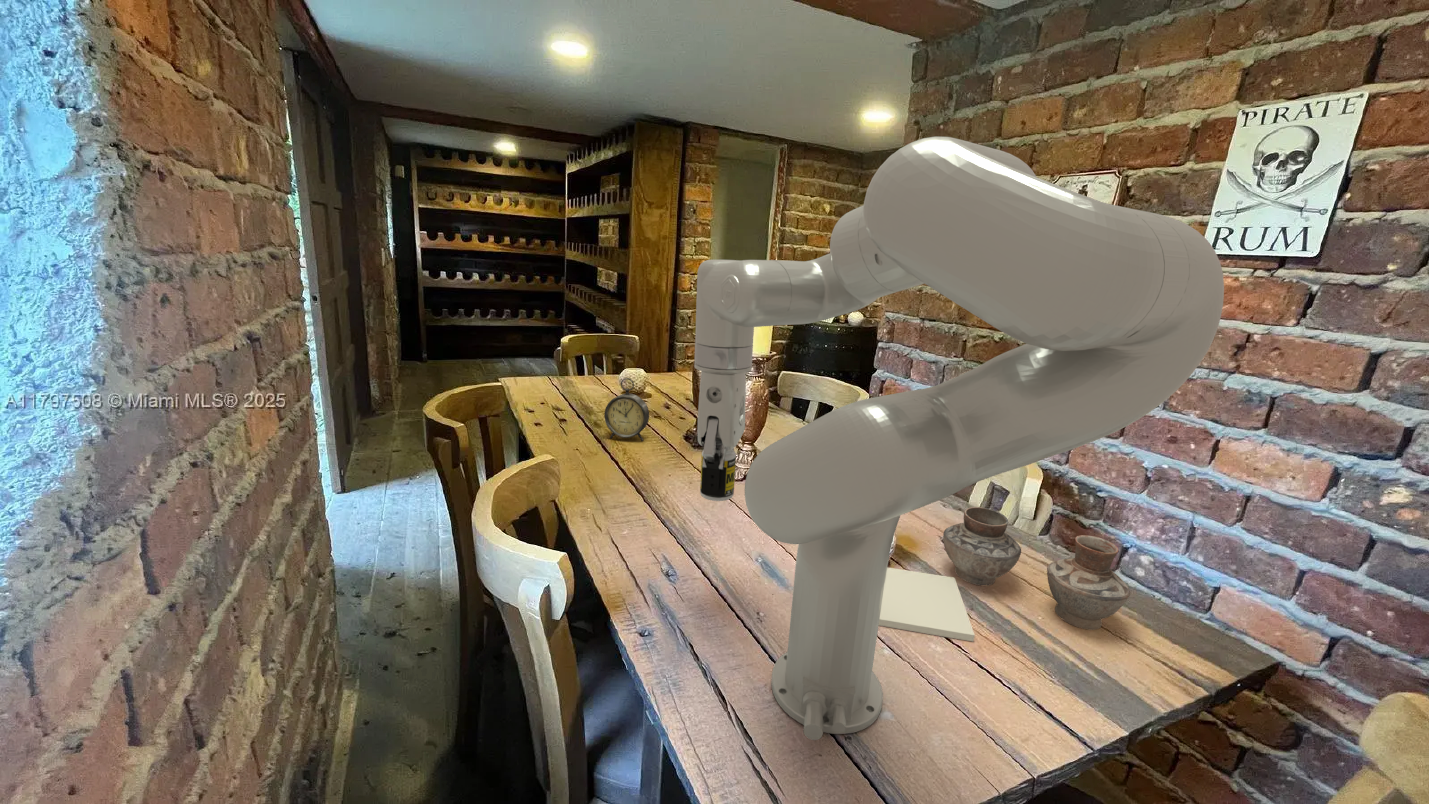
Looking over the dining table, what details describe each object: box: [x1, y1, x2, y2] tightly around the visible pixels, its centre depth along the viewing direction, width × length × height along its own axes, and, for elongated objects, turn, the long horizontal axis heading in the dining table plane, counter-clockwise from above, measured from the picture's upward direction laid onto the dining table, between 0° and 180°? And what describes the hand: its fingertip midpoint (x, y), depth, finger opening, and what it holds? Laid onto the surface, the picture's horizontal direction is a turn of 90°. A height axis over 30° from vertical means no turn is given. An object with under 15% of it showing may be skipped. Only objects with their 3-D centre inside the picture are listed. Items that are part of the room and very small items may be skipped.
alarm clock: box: [603, 377, 650, 442], centre depth 144 cm, size 11×5×16 cm, turn 81°
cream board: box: [878, 566, 976, 643], centre depth 82 cm, size 14×14×1 cm
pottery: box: [942, 506, 1131, 631], centre depth 84 cm, size 11×25×12 cm, turn 47°
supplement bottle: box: [699, 440, 737, 502], centre depth 77 cm, size 5×5×8 cm
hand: (717, 485), depth 78 cm, fingers closed on supplement bottle, 4 cm apart
